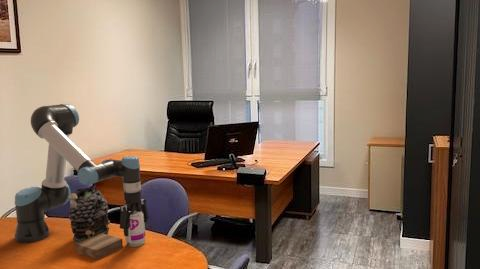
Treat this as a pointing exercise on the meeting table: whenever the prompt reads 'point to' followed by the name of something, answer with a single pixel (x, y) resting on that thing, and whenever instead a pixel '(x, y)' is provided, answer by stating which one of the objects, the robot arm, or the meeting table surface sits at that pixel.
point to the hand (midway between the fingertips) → (135, 238)
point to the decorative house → (88, 214)
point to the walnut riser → (99, 246)
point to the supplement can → (136, 229)
